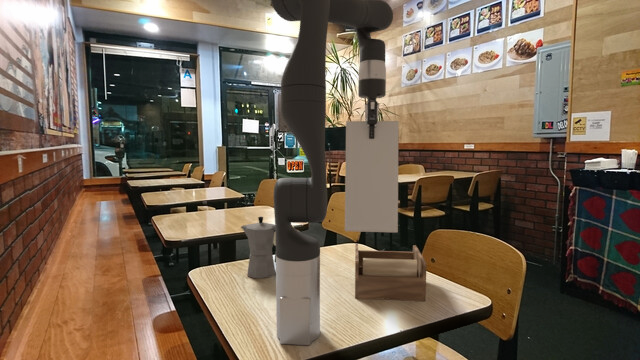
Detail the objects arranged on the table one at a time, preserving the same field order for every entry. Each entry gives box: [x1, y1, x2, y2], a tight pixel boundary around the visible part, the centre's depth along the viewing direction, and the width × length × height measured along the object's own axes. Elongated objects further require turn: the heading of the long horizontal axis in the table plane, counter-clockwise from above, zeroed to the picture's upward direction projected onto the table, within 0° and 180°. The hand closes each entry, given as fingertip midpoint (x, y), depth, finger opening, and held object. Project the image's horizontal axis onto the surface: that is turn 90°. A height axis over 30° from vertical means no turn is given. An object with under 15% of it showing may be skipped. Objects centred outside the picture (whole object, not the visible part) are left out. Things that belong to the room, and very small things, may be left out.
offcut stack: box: [363, 258, 417, 277], centre depth 96 cm, size 4×14×10 cm, turn 84°
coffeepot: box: [240, 216, 276, 280], centre depth 110 cm, size 15×9×18 cm, turn 78°
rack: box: [354, 243, 428, 302], centre depth 100 cm, size 16×18×10 cm
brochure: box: [344, 120, 400, 233], centre depth 99 cm, size 14×6×30 cm, turn 84°
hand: (371, 141), depth 101 cm, fingers closed on brochure, 5 cm apart
